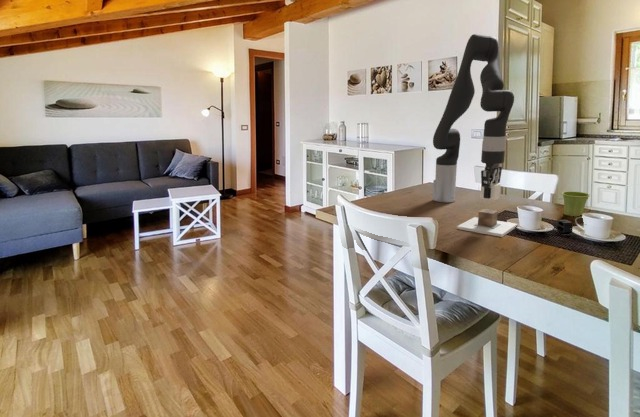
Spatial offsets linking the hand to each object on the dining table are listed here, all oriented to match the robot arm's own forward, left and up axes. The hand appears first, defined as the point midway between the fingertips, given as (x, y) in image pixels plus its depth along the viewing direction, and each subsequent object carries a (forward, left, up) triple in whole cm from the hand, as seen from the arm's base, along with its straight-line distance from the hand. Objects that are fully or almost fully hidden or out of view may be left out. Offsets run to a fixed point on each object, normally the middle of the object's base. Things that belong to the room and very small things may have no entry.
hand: (489, 196), depth 151 cm
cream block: (0, 0, 0) cm, 0 cm away
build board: (0, 0, -12) cm, 12 cm away
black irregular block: (+23, +10, -12) cm, 28 cm away
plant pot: (+20, +38, -12) cm, 44 cm away
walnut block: (0, 0, -10) cm, 10 cm away
